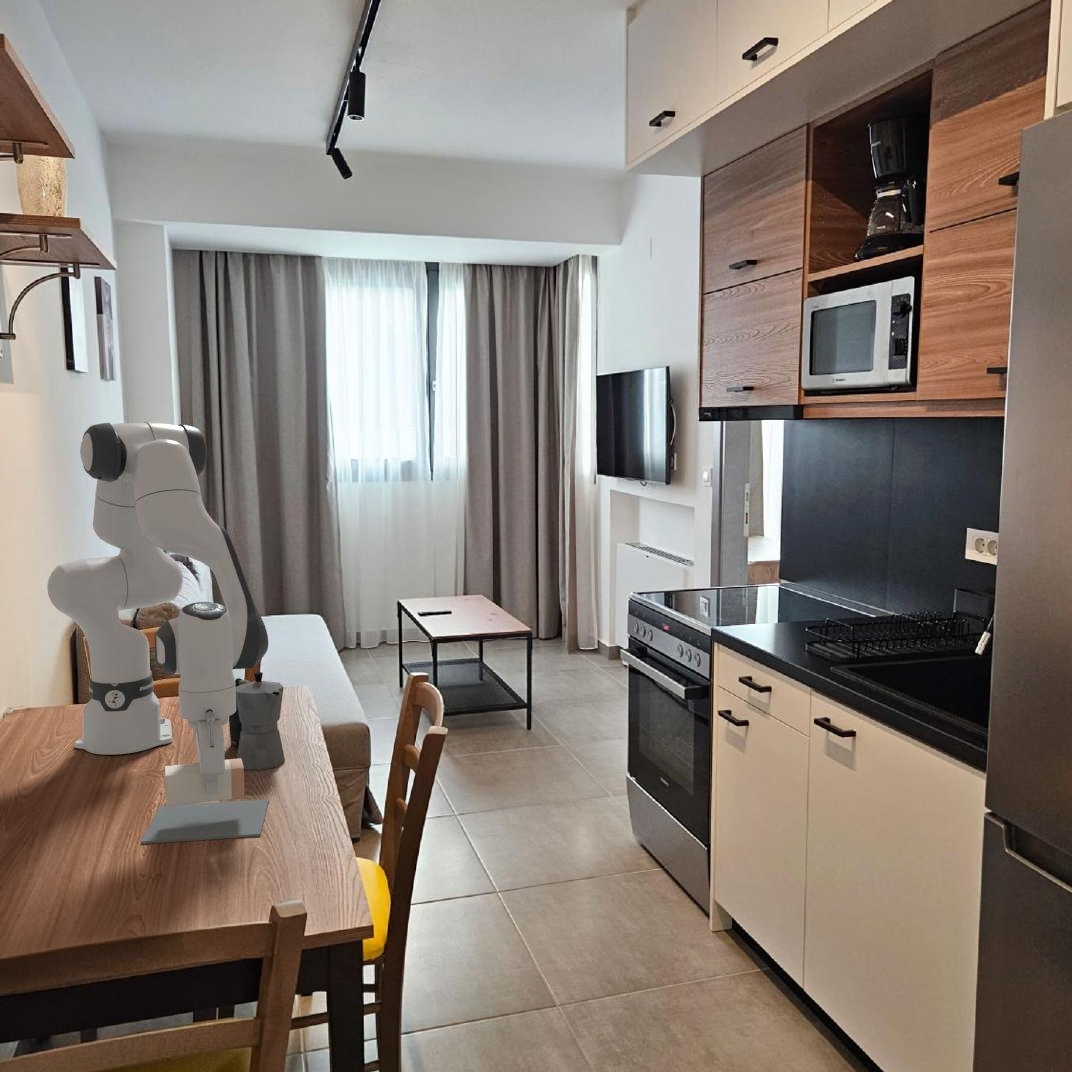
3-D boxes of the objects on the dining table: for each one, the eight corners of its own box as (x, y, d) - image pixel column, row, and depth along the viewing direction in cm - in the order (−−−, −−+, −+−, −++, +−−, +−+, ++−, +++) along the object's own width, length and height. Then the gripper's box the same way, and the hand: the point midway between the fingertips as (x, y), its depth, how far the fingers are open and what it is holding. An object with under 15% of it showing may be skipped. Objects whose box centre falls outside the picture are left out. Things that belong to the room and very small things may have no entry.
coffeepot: (301, 763, 190) (299, 673, 188) (259, 776, 183) (257, 682, 181) (255, 747, 200) (253, 660, 198) (214, 758, 193) (211, 669, 191)
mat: (160, 808, 167) (159, 805, 167) (268, 801, 171) (268, 799, 171) (141, 844, 153) (141, 841, 153) (260, 836, 156) (260, 833, 156)
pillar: (165, 766, 161) (241, 758, 165) (166, 795, 161) (241, 786, 165) (165, 776, 156) (243, 767, 160) (166, 806, 156) (244, 797, 161)
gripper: (232, 718, 151) (235, 804, 153) (223, 686, 170) (226, 764, 171) (189, 722, 149) (192, 810, 150) (185, 690, 168) (188, 768, 169)
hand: (210, 785), depth 161 cm, fingers closed on pillar, 5 cm apart
